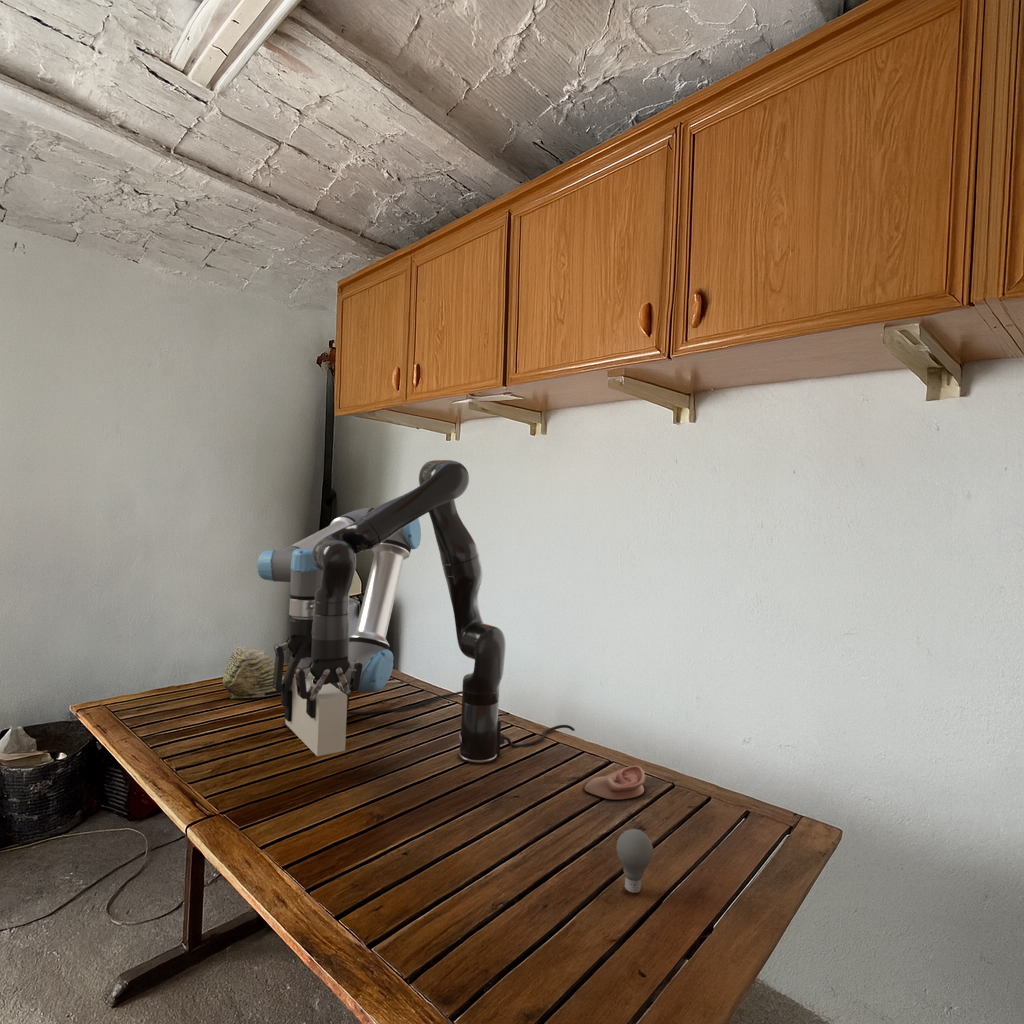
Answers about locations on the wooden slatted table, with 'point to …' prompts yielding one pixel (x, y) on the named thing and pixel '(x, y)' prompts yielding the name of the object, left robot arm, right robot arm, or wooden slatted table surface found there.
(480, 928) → the wooden slatted table surface
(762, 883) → the wooden slatted table surface
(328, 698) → the box
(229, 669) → the fossil
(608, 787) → the anatomical model
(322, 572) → the left robot arm
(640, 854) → the light bulb
